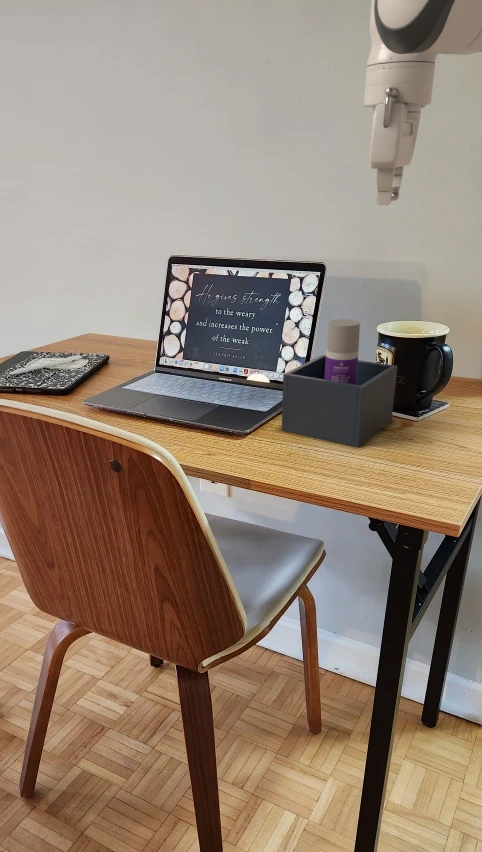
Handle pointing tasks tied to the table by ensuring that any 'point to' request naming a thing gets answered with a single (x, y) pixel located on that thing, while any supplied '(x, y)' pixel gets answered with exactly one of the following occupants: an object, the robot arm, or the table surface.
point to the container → (342, 351)
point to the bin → (338, 402)
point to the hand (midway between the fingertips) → (388, 202)
